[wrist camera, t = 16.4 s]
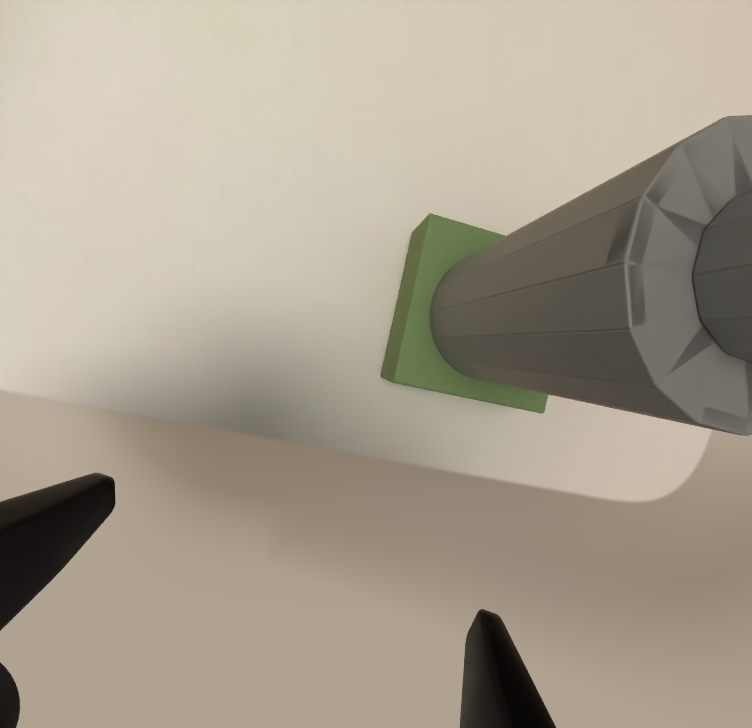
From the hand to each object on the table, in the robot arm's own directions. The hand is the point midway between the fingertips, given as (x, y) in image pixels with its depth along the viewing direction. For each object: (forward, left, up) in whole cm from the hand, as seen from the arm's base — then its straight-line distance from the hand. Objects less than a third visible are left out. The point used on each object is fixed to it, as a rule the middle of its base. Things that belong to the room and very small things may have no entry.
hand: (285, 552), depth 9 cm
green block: (+11, -1, -11) cm, 16 cm away
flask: (+11, -1, -8) cm, 14 cm away
